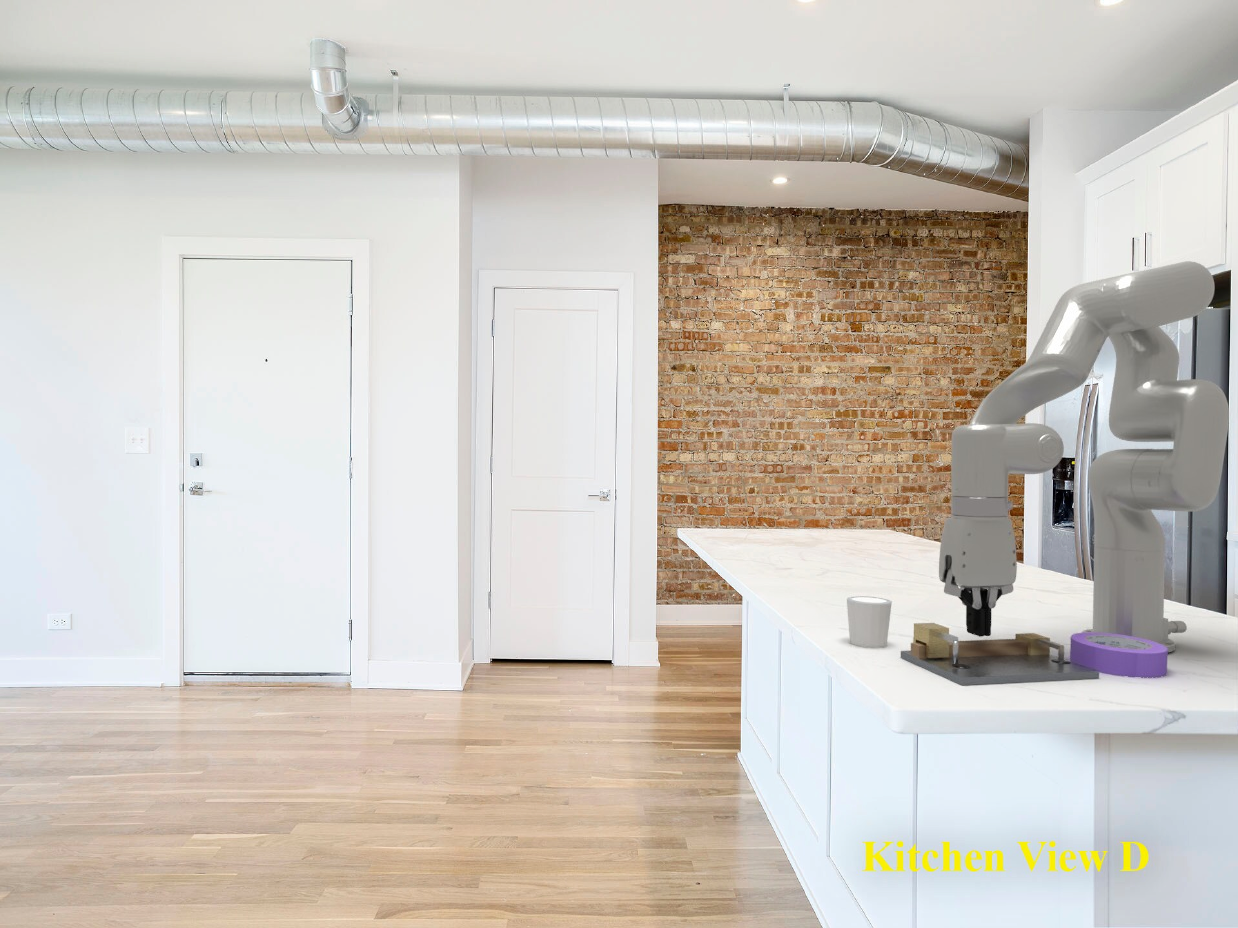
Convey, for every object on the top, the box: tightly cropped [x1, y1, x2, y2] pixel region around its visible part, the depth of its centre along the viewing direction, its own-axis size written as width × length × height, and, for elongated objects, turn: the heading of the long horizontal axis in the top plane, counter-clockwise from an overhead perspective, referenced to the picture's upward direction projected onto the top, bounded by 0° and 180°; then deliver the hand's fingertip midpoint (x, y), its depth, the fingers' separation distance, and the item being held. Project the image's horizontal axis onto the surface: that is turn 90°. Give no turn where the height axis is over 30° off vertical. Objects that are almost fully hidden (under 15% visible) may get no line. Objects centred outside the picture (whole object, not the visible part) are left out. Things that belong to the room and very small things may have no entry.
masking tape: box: [1069, 632, 1169, 679], centre depth 109 cm, size 12×12×4 cm
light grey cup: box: [846, 595, 893, 649], centre depth 121 cm, size 7×7×7 cm
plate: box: [900, 649, 1100, 686], centre depth 108 cm, size 21×14×1 cm, turn 102°
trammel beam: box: [910, 632, 1065, 661], centre depth 109 cm, size 21×7×2 cm, turn 102°
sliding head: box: [912, 622, 960, 664], centre depth 107 cm, size 3×8×4 cm, turn 12°
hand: (978, 633), depth 111 cm, fingers closed
